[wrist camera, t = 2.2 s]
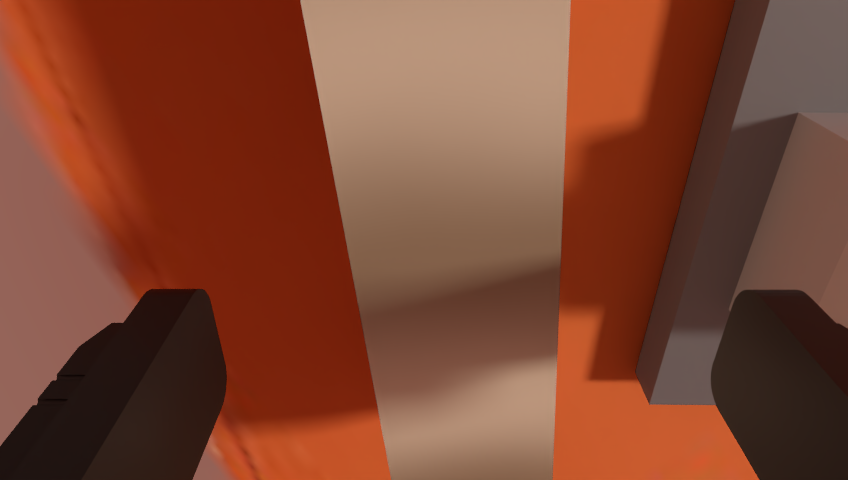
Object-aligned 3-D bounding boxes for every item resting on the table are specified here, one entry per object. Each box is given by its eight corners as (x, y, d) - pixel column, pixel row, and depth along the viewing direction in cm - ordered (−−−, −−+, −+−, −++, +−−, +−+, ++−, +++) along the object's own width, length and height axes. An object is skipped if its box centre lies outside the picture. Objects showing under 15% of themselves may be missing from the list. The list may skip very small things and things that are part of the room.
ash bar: (311, -375, 11) (163, -720, 5) (501, -400, 11) (600, -795, 5) (415, 388, 21) (411, 584, 15) (513, 382, 21) (548, 578, 15)
